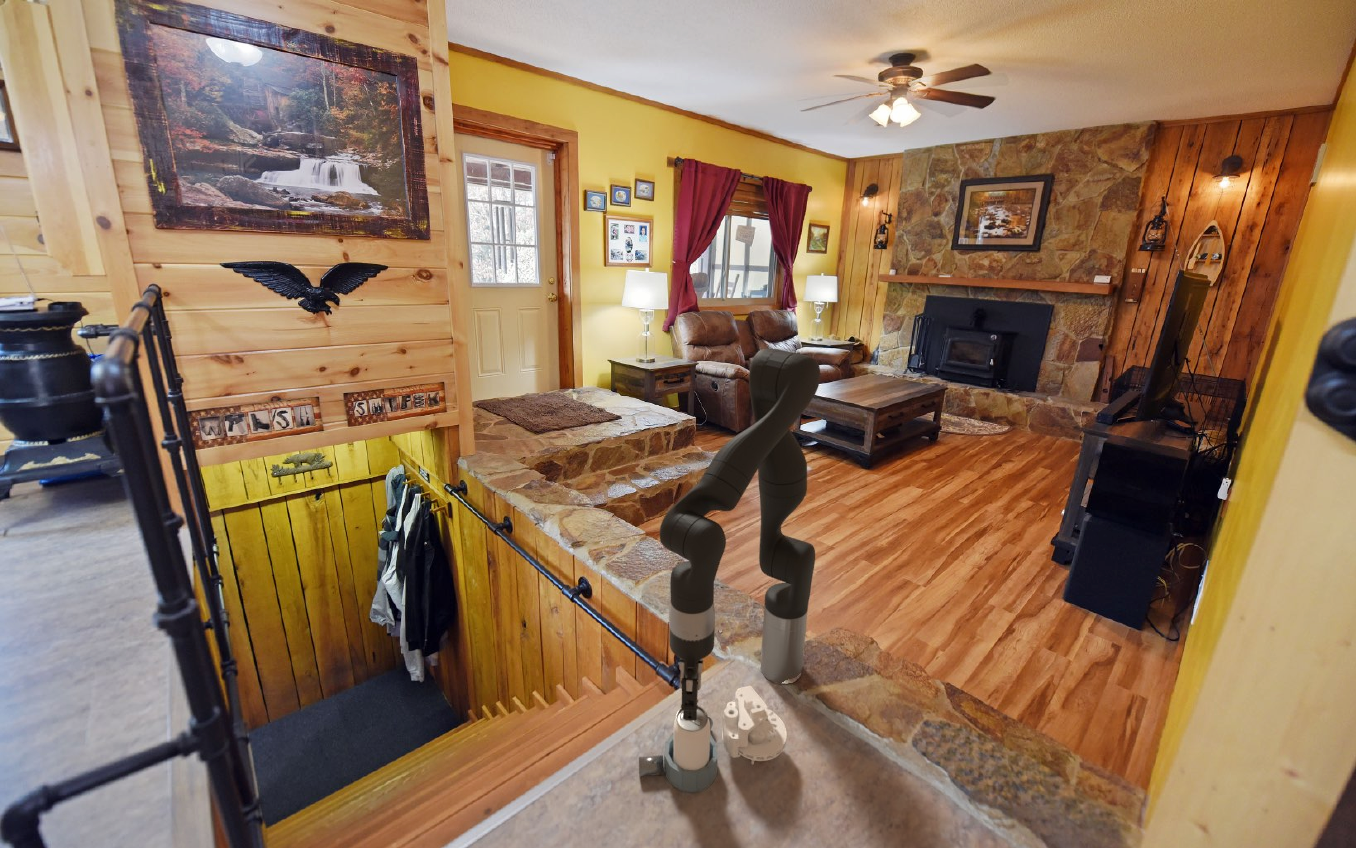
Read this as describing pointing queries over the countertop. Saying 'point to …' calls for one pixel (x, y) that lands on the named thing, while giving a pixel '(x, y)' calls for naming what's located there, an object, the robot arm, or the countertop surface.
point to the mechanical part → (752, 728)
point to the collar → (690, 778)
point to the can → (692, 741)
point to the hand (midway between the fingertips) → (691, 698)
